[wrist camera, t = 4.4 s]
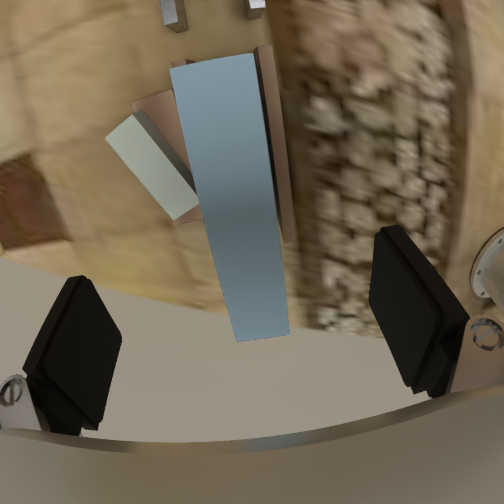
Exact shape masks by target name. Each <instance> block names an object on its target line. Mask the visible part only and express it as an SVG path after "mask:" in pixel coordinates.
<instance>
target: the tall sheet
mask: <svg viewBox="0 0 504 504" xmlns="http://www.w3.org/2000/svg"><path fill="white" fill-rule="evenodd" d="M169 70H170V75H171V80H172V85H173V90H174V94H175V99H176V104H177V109H178V113H179V118H180V122H181V127H182V131H183V136H184V140H185V145H186V149H187V154H188V158H189V162H190V167H191V171H192V175H193V179H194V183H195V188H196V192H197V196H198V200H199V204H200V208H201V212H202V216H203V220H204V224H205V228H206V232H207V236H208V240H209V244H210V247H211V251H212V255H213V259H214V263H215V266H216V270H217V274H218V277H219V281H220V285H221V288H222V292H223V296H224V299H225V303H226V307H227V310H228V314H229V317H230V321H231V324H232V327H233V331H234V334H235V338H236V342H241V341H250V340H257V339H265V338H272V337H279V336H285V335H290V330H289V320H288V310H287V301H286V291H285V282H284V273H283V264H282V256H281V247H280V239H279V230H278V222H277V214H276V206H275V199H274V191H273V183H272V176H271V168H270V161H269V154H268V147H267V140H266V133H265V126H264V119H263V112H262V105H261V99H260V92H259V86H258V80H257V73H256V67H255V61H254V55H253V53H249V54H242V55H235V56H229V57H223V58H217V59H212V60H207V61H202V62H197V63H192V64H188V65H183V66H179V67H175V68H171V69H169Z"/></svg>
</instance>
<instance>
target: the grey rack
mask: <svg viewBox="0 0 504 504" xmlns="http://www.w3.org/2000/svg"><path fill="white" fill-rule="evenodd" d="M245 4H246V10H247V15H248V19H257V18H261V15H262V13H263V11H264V9H265V1H264V0H245ZM160 5H161V11H162V16H163V22H164V25H165V26H166V27H168V28H170V29H171V30H173V31H175V32H177V33H178V32H182V31H186V30H188V24H187V19H186V13H185V7H184V2H183V0H160Z"/></svg>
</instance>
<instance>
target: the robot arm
mask: <svg viewBox="0 0 504 504" xmlns="http://www.w3.org/2000/svg"><path fill="white" fill-rule="evenodd" d="M470 283H471V288H472V289H473V291H474V292H475V293H476V295H477V296H479V297H481V298H488V297H491V298H492V300H493V301H494V302H495V304H496V305H497V306H498V308H499V309H500V310H501V312H502V313H503V314H504V229H502V230H501V231H499V232H498V233H496V234H495V235H494V236H493V237H492V238H491V239H490V240H489V241H488V242H487V243H486V245H485V246H484V247H483V249H482V250H481V252H480V254H479V255H478V257H477V259H476V261H475V263H474V266H473V269H472V273H471V281H470ZM369 304H370V307H371V309H372V311H373V313H374V316H375V318H376V320H377V322H378V324H379V326H380V329H381V331H382V333H383V335H384V337H385V340H386V342H387V344H388V346H389V348H390V350H391V353H392V355H393V358H394V360H395V362H396V365H397V367H398V369H399V372H400V374H401V376H402V379H403V381H404V383H405V385H406V386H407V387H410V386H411V389H412V391H413V393H414V394H417V393H420V392H423V391H427V394H428V396H429V397H430V399H429V400H427V401H424V402H421V403H418V404H415V405H411V406H408V407H405V408H402V409H398V410H395V411H391V412H388V413H384V414H380V415H377V416H373V417H369V418H365V419H361V420H357V421H353V422H349V423H344V424H340V425H335V426H331V427H326V428H321V429H315V430H310V431H304V432H298V433H292V434H285V435H278V436H271V437H262V438H253V439H243V440H231V441H215V442H188V443H161V442H133V441H118V440H106V439H96V438H88V437H83V435H82V433H81V428H82V427H83V428H84V429H86V430H96V431H97V430H98V426H99V423H100V422H101V421H102V419H103V416H104V411H105V406H106V402H107V397H108V393H109V389H110V385H111V381H112V377H113V373H114V369H115V365H116V362H117V358H118V354H119V350H120V346H121V343H122V336H121V333H120V331H119V329H118V328H117V326H116V324H115V323H114V321H113V319H112V317H111V316H110V314H109V312H108V311H107V309H106V307H105V305H104V303H103V302H102V300H101V298H100V296H99V294H98V293H97V291H96V289H95V287H94V285H93V283H92V281H91V280H90V279H87V278H86V277H85V276H84V275H80V276H74V277H70V278H68V279H67V281H66V282H65V284H64V286H63V288H62V289H61V291H60V293H59V295H58V297H57V299H56V300H55V302H54V304H53V306H52V308H51V310H50V312H49V314H48V316H47V317H46V319H45V321H44V323H43V325H42V327H41V329H40V331H39V333H38V335H37V337H36V339H35V342H34V344H33V346H32V348H31V350H30V352H29V354H28V357H27V359H26V361H25V364H24V366H23V368H22V369H23V371H24V372H25V373H26V374H27V378H26V379H25V378H24V377H23V376H22V375H18V374H16V375H12V376H10V377H8V378H7V379H6V380H5V381H4V382H3V383H2V384H1V386H0V504H504V324H503V323H502V322H501V321H500V320H499V319H497V318H495V317H493V316H491V315H486V314H480V315H476V316H473V317H471V318H470V317H469V315H468V314H467V312H466V311H465V309H464V308H463V306H462V305H461V304H460V302H459V301H458V299H457V298H456V296H455V295H454V294H453V292H452V291H451V290H450V288H449V287H448V286H447V284H446V283H445V282H444V280H443V279H442V278H441V276H440V275H439V274H438V272H437V271H436V270H435V268H434V267H433V266H432V265H431V263H430V262H429V261H428V259H427V258H426V257H425V256H424V254H423V253H422V252H421V251H420V250H419V248H418V247H417V246H416V245H415V243H414V242H413V241H412V240H411V239H410V237H409V236H408V235H407V234H406V233H405V232H404V230H403V229H402V228H401V227H400V226H399V225H393V226H386V227H382V228H380V231H379V232H378V233H376V234H375V240H374V252H373V263H372V273H371V282H370V291H369Z"/></svg>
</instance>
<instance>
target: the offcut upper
mask: <svg viewBox="0 0 504 504" xmlns="http://www.w3.org/2000/svg"><path fill="white" fill-rule="evenodd" d="M105 139H106V140H107V141H108V143H109V144H110V145H111V146H112V148H113V149H114V150H115V151H116V153H117V154H118V155H119V156H120V157H121V159H122V160H123V161H124V162H125V164H126V165H127V166H128V167H129V168H130V170H131V171H132V172H133V173H134V174H135V176H136V177H137V178H138V179H139V180H140V182H141V183H142V184H143V185H144V186H145V188H146V189H147V190H148V191H149V192H150V193H151V195H152V196H153V197H154V198H155V199H156V201H157V202H158V203H159V204H160V205H161V206H162V208H163V209H164V210H165V211H166V212H167V213H168V215H169V216H170V217H171V218H172V219H173V220H175V219H177V218H178V217H180V216H181V215H183V214H184V213H186V212H187V211H189V210H190V209H192V208H193V207H195V206H196V205H198V204H199V200H198V196H197V192H196V188H195V183H194V179H193V175H192V173H191V171H190V170H189V169H188V167H187V166H186V165H185V164H184V162H183V161H182V160H181V159H180V157H179V156H178V155H177V153H176V152H175V151H174V150H173V148H172V147H171V146H170V145H169V143H168V142H167V141H166V139H165V138H164V137H163V136H162V134H161V133H160V132H159V131H158V129H157V128H156V127H155V126H154V124H153V123H152V122H151V120H150V119H149V118H148V117H147V115H146V114H145V113H144V112H143V110H142V109H141V110H139V111H137V112H135V113H133V114H132V115H131V116H129V117H128V118H127V119H126V120H125V121H124V122H122V123H121V124H120V125H119V126H118V127H117V128H116V129H115V130H113V131H112V132H111V133H110V134H109V135H108V136H107V137H106V138H105Z"/></svg>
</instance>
